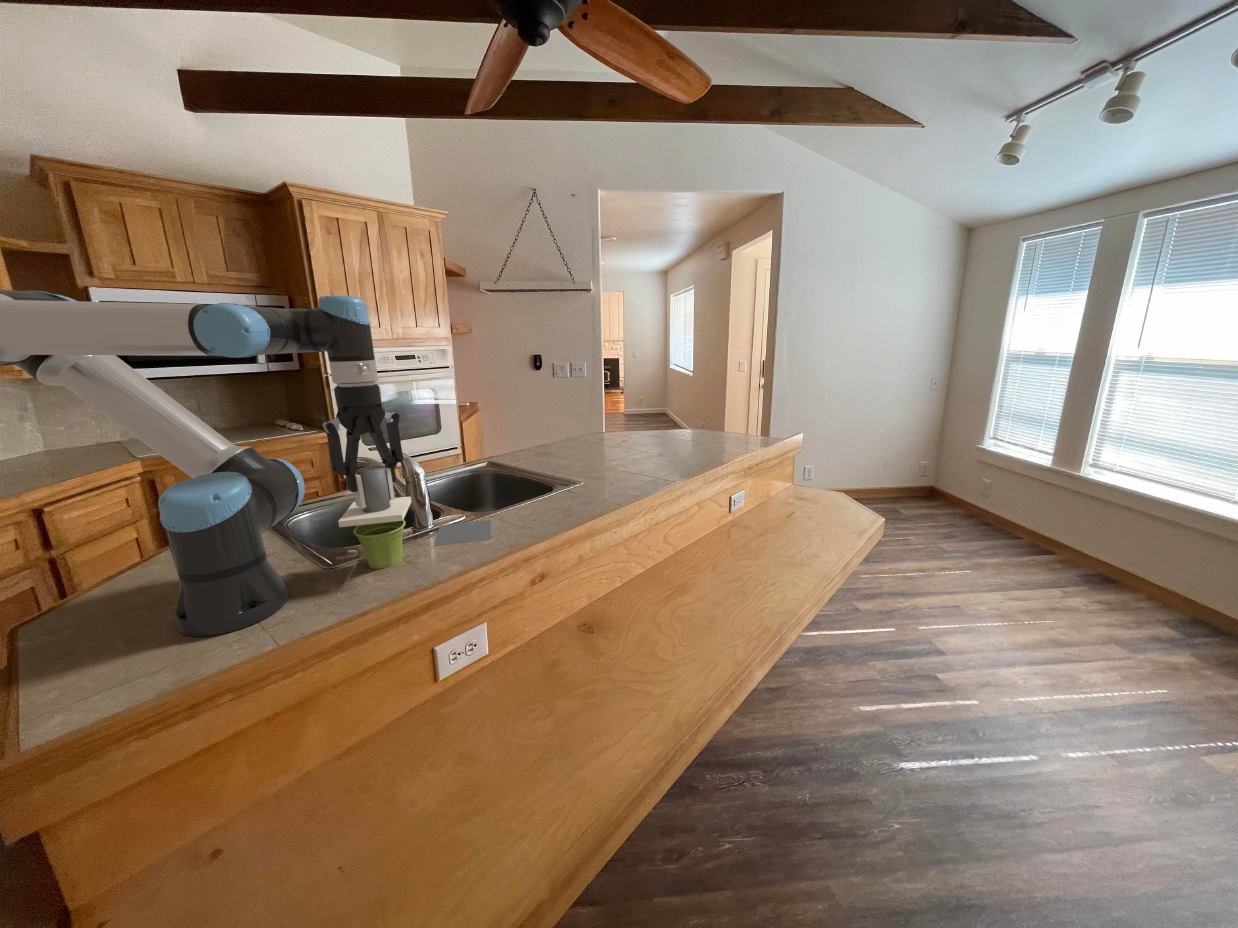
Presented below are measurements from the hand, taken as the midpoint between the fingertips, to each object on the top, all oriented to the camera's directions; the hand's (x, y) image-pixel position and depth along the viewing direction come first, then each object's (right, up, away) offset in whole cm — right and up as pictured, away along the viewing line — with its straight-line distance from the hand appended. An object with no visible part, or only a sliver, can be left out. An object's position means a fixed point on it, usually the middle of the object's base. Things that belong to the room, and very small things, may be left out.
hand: (375, 502), depth 95 cm
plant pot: (0, -13, +4) cm, 14 cm away
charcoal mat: (+12, -9, +17) cm, 23 cm away
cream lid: (0, -2, +1) cm, 2 cm away
